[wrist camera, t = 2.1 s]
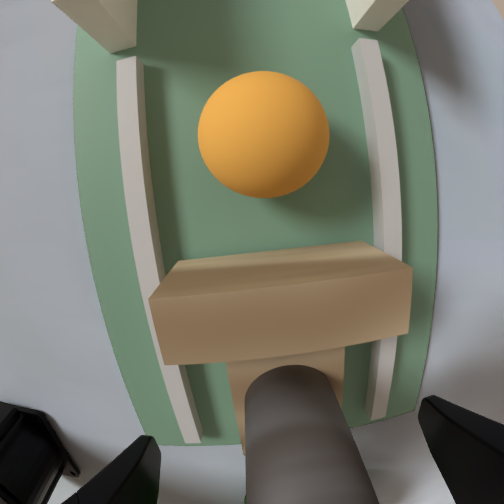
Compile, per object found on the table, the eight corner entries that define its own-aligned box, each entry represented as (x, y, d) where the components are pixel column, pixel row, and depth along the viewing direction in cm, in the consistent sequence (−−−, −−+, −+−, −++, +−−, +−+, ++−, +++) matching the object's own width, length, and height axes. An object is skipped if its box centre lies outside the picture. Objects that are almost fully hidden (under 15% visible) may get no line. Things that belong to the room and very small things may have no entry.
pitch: (411, 406, 14) (453, 467, 9) (151, 439, 14) (129, 512, 9) (359, -81, 8) (387, -133, 3) (97, -60, 8) (63, -110, 3)
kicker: (356, 402, 13) (420, 541, 5) (212, 421, 13) (197, 577, 5) (361, 240, 11) (528, 337, 3) (178, 260, 11) (67, 409, 3)
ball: (318, 190, 11) (355, 195, 7) (211, 201, 11) (196, 210, 7) (306, 89, 11) (335, 49, 7) (201, 98, 11) (181, 59, 7)
